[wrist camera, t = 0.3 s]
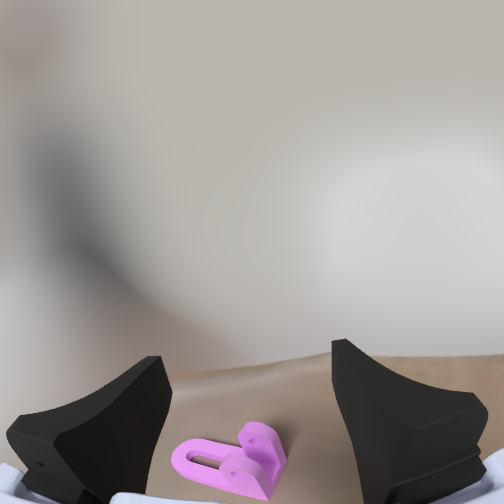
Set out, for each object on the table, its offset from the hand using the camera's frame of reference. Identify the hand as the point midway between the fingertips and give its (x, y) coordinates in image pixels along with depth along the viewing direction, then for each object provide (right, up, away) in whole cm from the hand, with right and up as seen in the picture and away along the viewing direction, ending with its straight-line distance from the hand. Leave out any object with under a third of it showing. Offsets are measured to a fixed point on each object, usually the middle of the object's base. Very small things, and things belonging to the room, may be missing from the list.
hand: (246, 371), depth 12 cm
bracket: (-3, -19, +16) cm, 25 cm away
